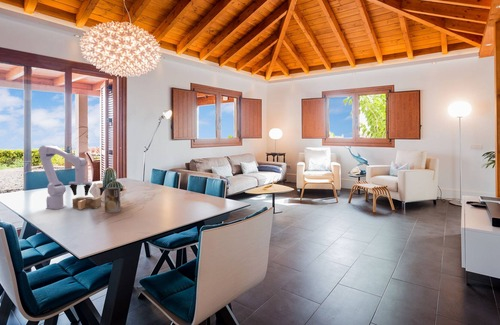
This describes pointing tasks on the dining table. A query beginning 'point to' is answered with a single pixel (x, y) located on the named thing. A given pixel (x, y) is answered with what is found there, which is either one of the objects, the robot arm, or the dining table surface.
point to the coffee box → (112, 200)
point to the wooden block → (88, 202)
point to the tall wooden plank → (81, 204)
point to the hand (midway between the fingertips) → (80, 195)
